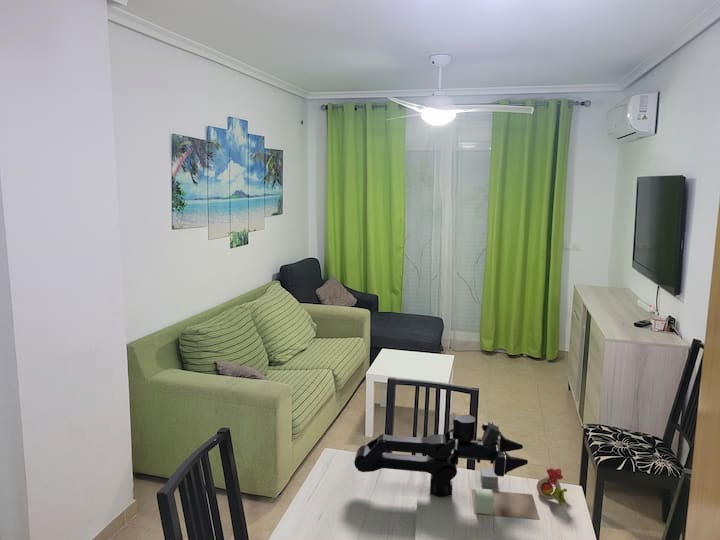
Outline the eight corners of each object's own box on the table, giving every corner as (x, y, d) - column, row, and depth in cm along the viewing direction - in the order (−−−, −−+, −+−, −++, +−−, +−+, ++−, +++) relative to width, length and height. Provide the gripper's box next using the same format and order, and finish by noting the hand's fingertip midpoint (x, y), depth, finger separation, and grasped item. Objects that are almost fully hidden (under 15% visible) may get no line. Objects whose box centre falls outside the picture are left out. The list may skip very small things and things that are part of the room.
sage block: (475, 513, 163) (476, 497, 162) (474, 503, 168) (475, 488, 167) (492, 514, 163) (493, 499, 162) (491, 504, 168) (492, 489, 167)
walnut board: (473, 518, 163) (474, 513, 163) (471, 493, 176) (471, 489, 176) (539, 524, 161) (540, 519, 161) (531, 498, 173) (532, 494, 173)
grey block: (481, 490, 178) (482, 476, 177) (480, 481, 183) (480, 468, 182) (497, 491, 177) (498, 477, 176) (495, 483, 182) (496, 469, 181)
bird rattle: (545, 511, 170) (574, 504, 168) (532, 480, 169) (561, 472, 167) (542, 500, 176) (569, 492, 174) (529, 469, 175) (557, 461, 173)
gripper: (477, 440, 159) (532, 444, 157) (473, 412, 178) (522, 416, 176) (475, 475, 161) (529, 480, 160) (470, 444, 180) (519, 448, 178)
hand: (525, 454), depth 168 cm, fingers open, 9 cm apart
